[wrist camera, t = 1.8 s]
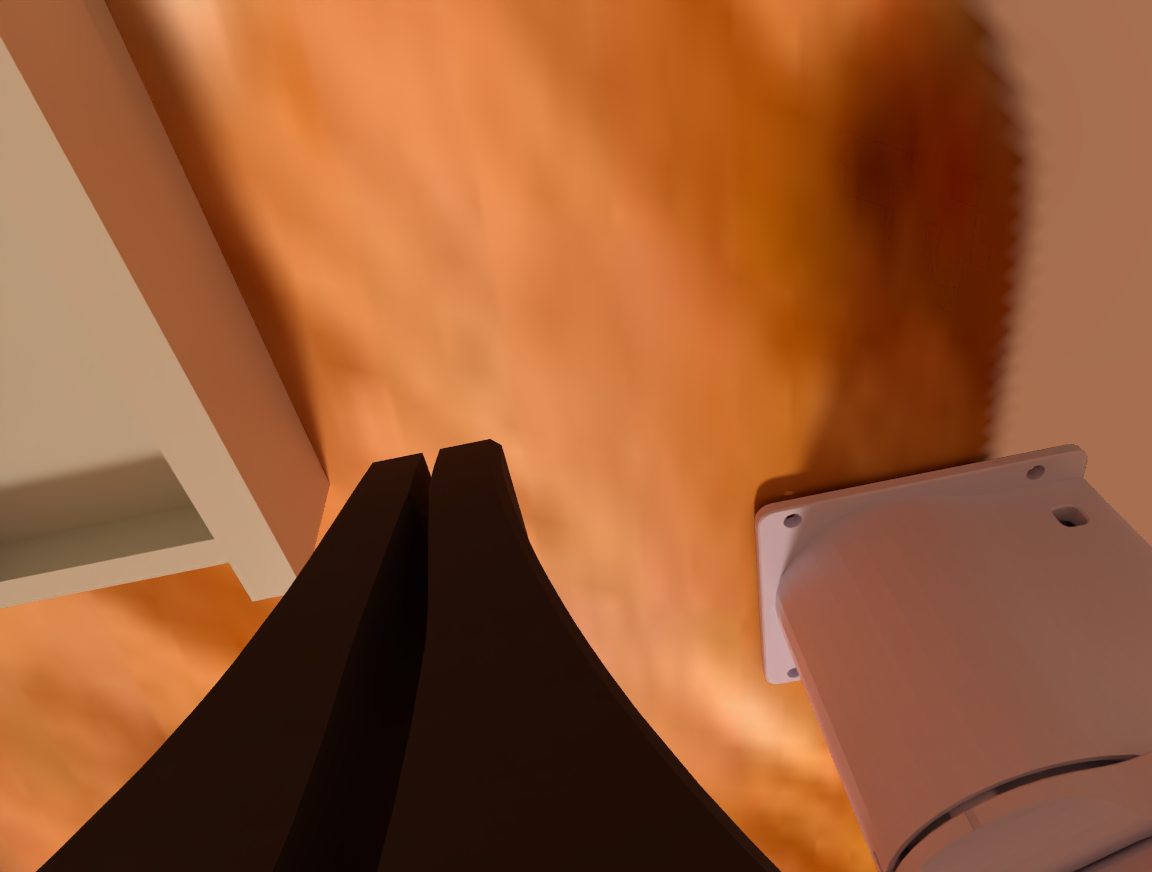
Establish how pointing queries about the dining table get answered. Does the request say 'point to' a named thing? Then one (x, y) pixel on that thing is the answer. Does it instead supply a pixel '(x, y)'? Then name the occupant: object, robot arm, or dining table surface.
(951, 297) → the dining table surface
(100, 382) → the tray
